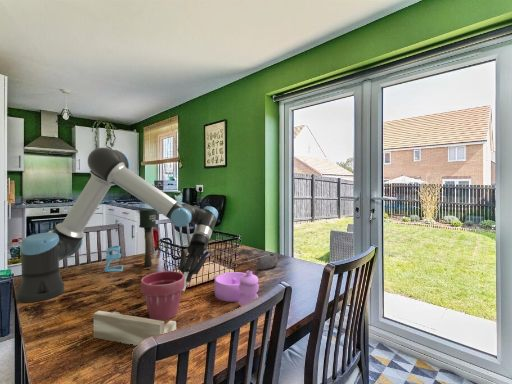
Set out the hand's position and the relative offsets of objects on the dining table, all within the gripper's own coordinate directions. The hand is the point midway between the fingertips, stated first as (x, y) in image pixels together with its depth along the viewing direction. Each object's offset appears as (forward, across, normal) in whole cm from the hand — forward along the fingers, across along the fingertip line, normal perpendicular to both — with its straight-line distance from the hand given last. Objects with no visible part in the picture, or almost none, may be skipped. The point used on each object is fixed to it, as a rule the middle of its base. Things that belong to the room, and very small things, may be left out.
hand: (181, 289), depth 107 cm
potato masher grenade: (-20, +38, -26) cm, 50 cm away
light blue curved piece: (-12, +51, -18) cm, 55 cm away
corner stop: (+21, 0, +16) cm, 26 cm away
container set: (-3, -20, -9) cm, 22 cm away
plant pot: (+11, 0, +5) cm, 13 cm away
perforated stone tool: (-31, -23, -37) cm, 53 cm away
